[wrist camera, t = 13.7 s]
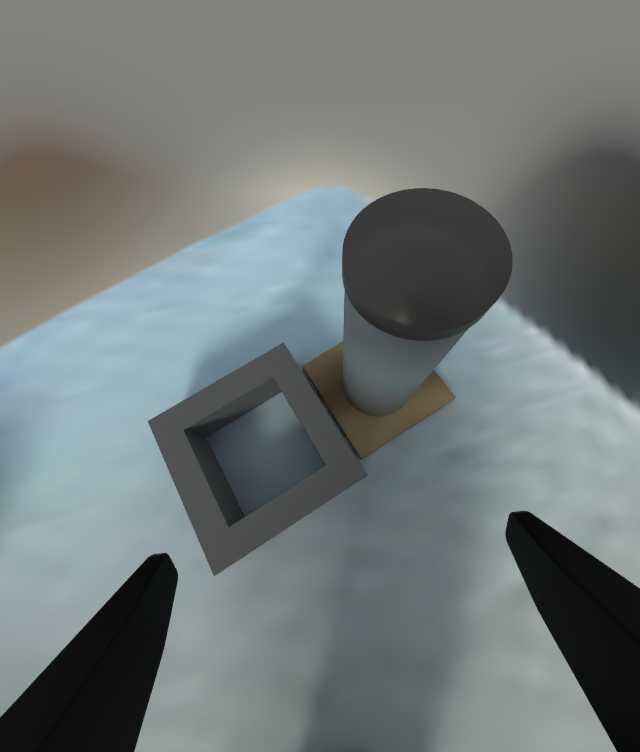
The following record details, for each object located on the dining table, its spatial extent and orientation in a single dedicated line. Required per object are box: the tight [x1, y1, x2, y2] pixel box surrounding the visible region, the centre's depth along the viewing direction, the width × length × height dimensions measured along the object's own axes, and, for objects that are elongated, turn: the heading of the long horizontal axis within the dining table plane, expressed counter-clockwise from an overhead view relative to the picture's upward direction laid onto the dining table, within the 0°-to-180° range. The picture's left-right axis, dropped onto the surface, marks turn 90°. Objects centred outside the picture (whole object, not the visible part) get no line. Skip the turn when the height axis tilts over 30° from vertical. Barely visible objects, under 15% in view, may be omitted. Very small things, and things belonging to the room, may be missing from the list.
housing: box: [148, 343, 367, 576], centre depth 21 cm, size 10×10×4 cm
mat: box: [302, 342, 456, 459], centre depth 23 cm, size 8×8×1 cm
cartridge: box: [342, 188, 512, 416], centre depth 17 cm, size 5×5×14 cm
